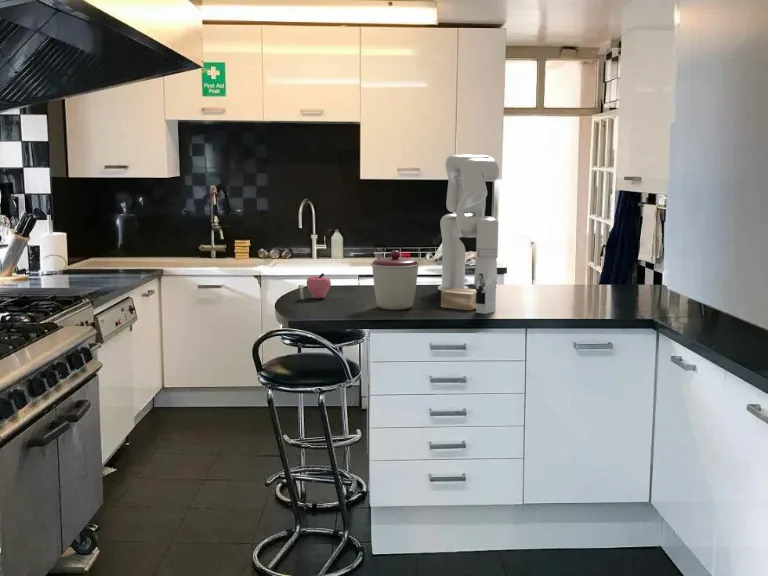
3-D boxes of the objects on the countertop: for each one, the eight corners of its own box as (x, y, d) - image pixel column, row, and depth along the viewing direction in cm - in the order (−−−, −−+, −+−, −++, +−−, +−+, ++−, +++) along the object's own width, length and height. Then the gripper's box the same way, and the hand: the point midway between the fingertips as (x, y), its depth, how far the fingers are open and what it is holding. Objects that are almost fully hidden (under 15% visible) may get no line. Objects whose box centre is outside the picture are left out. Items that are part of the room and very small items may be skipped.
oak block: (457, 303, 311) (457, 287, 310) (485, 306, 304) (485, 290, 303) (440, 307, 301) (441, 291, 300) (469, 311, 294) (469, 294, 293)
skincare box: (486, 310, 294) (486, 277, 292) (495, 311, 291) (496, 278, 289) (475, 312, 290) (476, 279, 288) (485, 314, 287) (485, 280, 285)
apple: (328, 295, 325) (327, 270, 324) (333, 299, 317) (333, 273, 315) (304, 297, 322) (304, 271, 321) (309, 300, 314) (309, 274, 312)
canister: (430, 308, 299) (430, 250, 295) (394, 314, 286) (394, 254, 283) (395, 301, 312) (396, 246, 308) (360, 307, 299) (360, 250, 296)
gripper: (486, 250, 297) (485, 297, 299) (466, 255, 282) (465, 304, 285) (506, 251, 293) (505, 299, 296) (486, 256, 278) (485, 306, 281)
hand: (485, 301), depth 290 cm, fingers open, 8 cm apart
